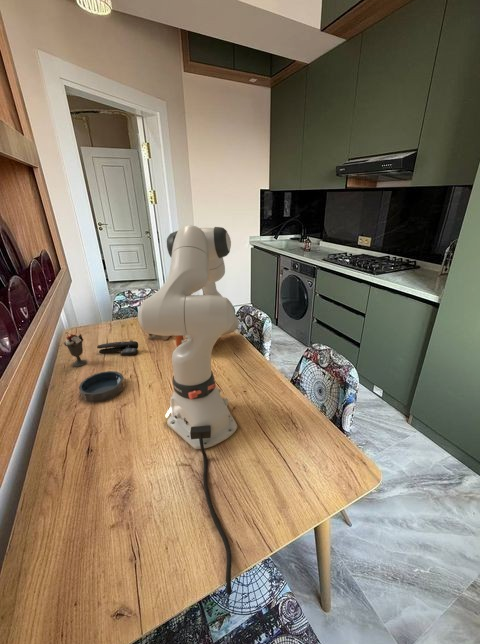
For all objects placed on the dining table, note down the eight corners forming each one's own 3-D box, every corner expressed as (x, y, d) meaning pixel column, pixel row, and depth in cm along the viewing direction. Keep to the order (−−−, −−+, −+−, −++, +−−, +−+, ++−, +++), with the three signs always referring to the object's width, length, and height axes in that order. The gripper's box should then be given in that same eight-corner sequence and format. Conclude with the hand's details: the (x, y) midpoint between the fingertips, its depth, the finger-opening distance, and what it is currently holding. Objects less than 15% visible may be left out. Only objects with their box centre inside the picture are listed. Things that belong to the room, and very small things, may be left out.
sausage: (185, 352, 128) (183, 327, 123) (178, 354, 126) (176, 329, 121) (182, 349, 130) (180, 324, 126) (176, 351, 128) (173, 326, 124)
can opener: (142, 349, 130) (140, 338, 127) (136, 357, 123) (133, 345, 121) (103, 348, 130) (100, 337, 127) (94, 356, 123) (91, 344, 121)
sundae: (67, 369, 114) (58, 334, 108) (73, 360, 120) (64, 327, 114) (86, 366, 116) (77, 333, 110) (90, 358, 122) (82, 326, 116)
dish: (129, 392, 101) (127, 384, 100) (85, 408, 93) (82, 399, 92) (119, 375, 111) (117, 367, 109) (78, 387, 103) (76, 379, 102)
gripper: (195, 317, 139) (167, 324, 131) (216, 331, 124) (186, 340, 116) (196, 329, 142) (169, 336, 134) (217, 344, 127) (187, 354, 119)
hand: (177, 338), depth 125 cm, fingers open, 8 cm apart
